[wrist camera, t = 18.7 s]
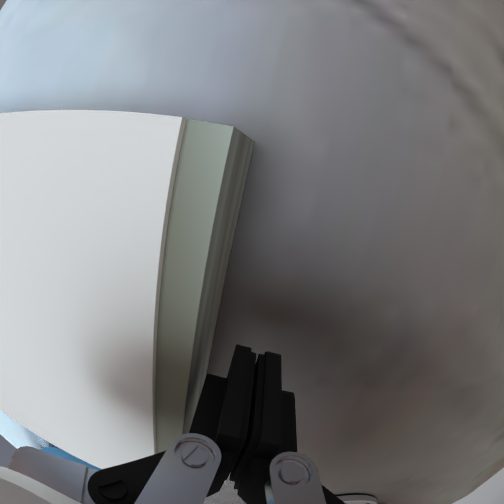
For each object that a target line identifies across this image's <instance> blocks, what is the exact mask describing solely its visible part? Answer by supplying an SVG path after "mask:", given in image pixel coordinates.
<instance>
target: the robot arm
mask: <svg viewBox="0 0 504 504" xmlns="http://www.w3.org/2000/svg"><path fill="white" fill-rule="evenodd" d="M255 361H256V353H253V352H251V348H249V347H245V346H241V345H236V348H235V351H234V355H233V358H232V362H231V365H230V368H229V372H228V375H227V379H226V378H222V377H219V376H215V375H211V374H207V375H206V378H205V381H204V384H203V388H202V391H201V394H200V398H199V401H198V404H197V407H196V411H195V414H194V417H193V421H192V424H191V427H190V430H189V433H187V434H182V435H180V436H178V437H176V438H175V439H174V440H173V441H172V442H171V443H170V445H169V447H168V448H167V450H166V451H163V452H160V453H157V454H154V455H151V456H148V457H144V458H141V459H138V460H135V461H131V462H128V463H124V464H120V465H117V466H113V467H109V468H105V469H101V470H95V469H91V468H88V467H87V465H84V464H80V463H77V462H74V461H70V460H67V459H64V458H61V457H58V456H55V455H52V454H49V453H47V452H44V451H41V450H39V449H36V448H33V447H29V446H25V447H20V448H19V449H17V450H16V451H15V452H14V454H13V456H12V459H11V462H10V465H9V468H4V467H1V466H0V504H203V503H204V500H205V498H206V497H208V496H210V495H212V494H214V493H216V492H218V491H220V489H221V487H222V485H223V483H224V481H225V480H227V478H228V476H229V474H230V481H235V485H234V489H238V495H239V496H240V497H241V498H242V500H243V501H244V504H377V500H376V498H374V497H372V496H368V495H343V496H335V495H334V494H333V493H332V492H330V491H329V490H328V489H326V488H325V487H324V486H323V485H321V482H320V478H319V474H318V470H317V468H316V466H315V464H314V462H313V461H312V460H311V459H310V458H308V457H307V456H305V455H303V454H301V453H298V452H297V437H296V414H295V396H294V393H293V392H287V391H282V382H281V355H280V354H275V353H271V352H267V351H266V352H265V354H264V355H262V354H259V355H258V358H257V361H256V364H255ZM230 472H231V473H230Z"/></svg>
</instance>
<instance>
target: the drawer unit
mask: <svg viewBox="0 0 504 504" xmlns="http://www.w3.org/2000/svg"><path fill="white" fill-rule="evenodd" d="M185 124H186V119H185V118H183V117H176V116H167V115H158V114H148V113H137V112H123V111H103V110H40V111H22V112H9V113H0V410H2V411H3V412H4V413H6V414H7V415H8V416H10V417H11V418H12V419H14V420H15V421H17V422H18V423H20V424H21V425H23V426H24V427H25V428H27V429H29V430H30V431H32V432H33V433H35V434H36V435H38V436H40V437H41V438H43V439H44V440H46V441H48V442H49V443H51V444H53V445H55V446H56V447H58V448H60V449H62V450H64V451H66V452H67V453H69V454H71V455H73V456H75V457H77V458H79V459H81V460H83V461H85V462H87V463H89V464H91V465H94V466H96V467H98V468H100V469H105V468H109V467H113V466H117V465H120V464H124V463H128V462H131V461H135V460H138V459H141V458H144V457H148V456H151V455H154V454H157V451H156V419H155V381H156V347H157V328H158V313H159V299H160V288H161V277H162V267H163V258H164V249H165V241H166V233H167V226H168V219H169V212H170V205H171V199H172V192H173V186H174V180H175V175H176V169H177V163H178V158H179V153H180V148H181V143H182V138H183V133H184V128H185Z"/></svg>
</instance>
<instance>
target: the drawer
mask: <svg viewBox="0 0 504 504" xmlns="http://www.w3.org/2000/svg"><path fill="white" fill-rule="evenodd" d="M253 146H254V141H253V140H251V139H250V138H249V137H247V136H246V135H245V134H243V133H242V132H240V131H239V130H238V129H236V128H235V127H233V126H228V125H222V124H216V123H210V122H204V121H198V120H191V119H186V124H185V128H184V133H183V138H182V143H181V148H180V153H179V158H178V163H177V169H176V175H175V180H174V186H173V192H172V199H171V205H170V212H169V219H168V226H167V233H166V241H165V249H164V258H163V267H162V277H161V288H160V299H159V313H158V328H157V347H156V381H155V419H156V451H157V453H160V452H163V451H166V450H167V448H168V447H169V445H170V443H171V442H172V441H173V440H174V439H175V438H176V437H178V436H180V435H182V434H187V433H189V430H190V427H191V424H192V421H193V417H194V414H195V411H196V407H197V404H198V401H199V398H200V394H201V391H202V388H203V384H204V381H205V378H206V375H207V369H208V364H209V359H210V353H211V348H212V343H213V337H214V332H215V327H216V322H217V317H218V311H219V306H220V301H221V296H222V291H223V286H224V281H225V276H226V271H227V267H228V262H229V257H230V252H231V247H232V242H233V238H234V233H235V228H236V224H237V219H238V214H239V210H240V205H241V200H242V196H243V191H244V187H245V182H246V178H247V173H248V169H249V164H250V160H251V155H252V151H253Z"/></svg>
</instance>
